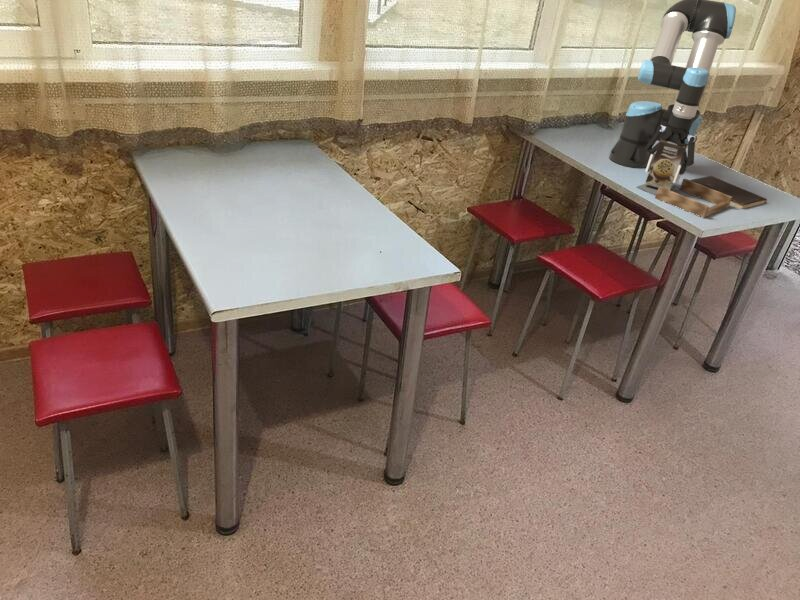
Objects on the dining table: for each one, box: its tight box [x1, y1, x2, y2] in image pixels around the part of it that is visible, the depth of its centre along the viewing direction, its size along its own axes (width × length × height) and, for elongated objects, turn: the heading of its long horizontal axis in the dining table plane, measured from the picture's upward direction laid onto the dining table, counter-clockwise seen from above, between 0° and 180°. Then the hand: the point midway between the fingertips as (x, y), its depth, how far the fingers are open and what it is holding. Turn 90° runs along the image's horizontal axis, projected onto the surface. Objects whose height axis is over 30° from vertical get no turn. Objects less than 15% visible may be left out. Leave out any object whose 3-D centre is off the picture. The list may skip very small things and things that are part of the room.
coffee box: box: [644, 139, 688, 190], centre depth 232 cm, size 9×6×16 cm
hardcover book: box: [689, 175, 767, 210], centre depth 241 cm, size 16×23×2 cm
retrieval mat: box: [635, 183, 679, 196], centre depth 237 cm, size 9×14×1 cm, turn 131°
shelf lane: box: [654, 178, 732, 218], centre depth 228 cm, size 18×19×4 cm
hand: (661, 176), depth 235 cm, fingers closed on coffee box, 10 cm apart
